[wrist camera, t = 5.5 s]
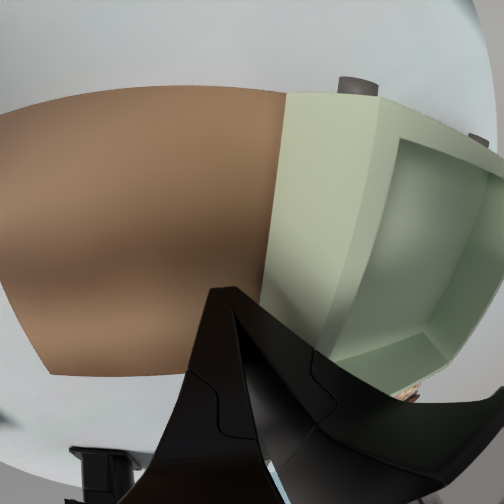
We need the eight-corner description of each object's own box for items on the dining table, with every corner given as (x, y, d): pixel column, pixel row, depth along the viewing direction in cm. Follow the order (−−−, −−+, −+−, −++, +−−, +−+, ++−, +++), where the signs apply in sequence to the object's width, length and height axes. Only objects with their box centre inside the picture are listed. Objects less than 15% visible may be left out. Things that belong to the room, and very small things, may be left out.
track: (417, 310, 18) (425, 319, 17) (53, 360, 11) (50, 374, 10) (474, 154, 12) (486, 159, 11) (-18, 123, 5) (-33, 128, 4)
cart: (411, 334, 16) (442, 373, 13) (248, 378, 13) (271, 445, 10) (484, 143, 10) (541, 170, 6) (289, 67, 6) (385, 53, 3)
